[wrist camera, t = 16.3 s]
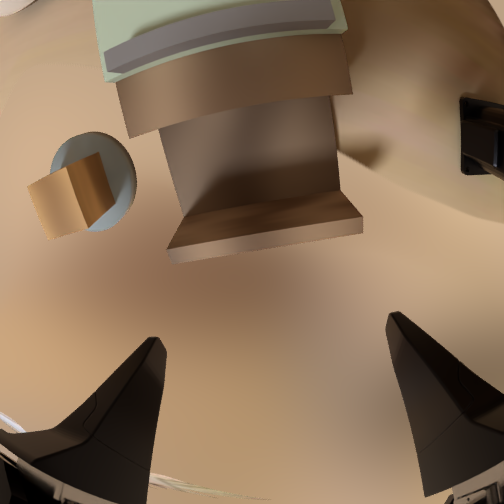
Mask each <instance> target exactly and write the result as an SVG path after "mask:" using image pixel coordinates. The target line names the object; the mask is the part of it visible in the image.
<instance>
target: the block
mask: <svg viewBox="0 0 504 504" xmlns="http://www.w3.org/2000/svg"><path fill="white" fill-rule="evenodd" d="M28 190H29V193H30V196H31V199H32V202H33V204H34V207H35V209H36V212H37V215H38V217H39V220H40V222H41V224H42V227H43V229H44V231H45V233H46V236H47V238H48V240H51V239H54V238H57V237H61V236H64V235H67V234H71V233H75V232H78V231H82V230H85V229H88V228H90V227H91V226H92V225H93V224H94V223H95V222H96V221H97V220H98V219H99V218H100V217H101V216H102V215H104V214H105V213H106V212H107V211H108V210H109V209H110V208H111V207H112V206H114V205H115V204H116V203H115V200H114V197H113V194H112V192H111V189H110V186H109V183H108V180H107V176H106V173H105V170H104V167H103V164H102V160H101V157H100V153H99V152H97V153H95V154H92V155H90V156H87V157H85V158H83V159H80V160H78V161H76V162H74V163H72V164H69V165H67V166H65V167H63V168H61V169H59V170H57V171H55V172H53V173H51V174H49V175H47V176H46V177H44V178H42V179H40V180H38V181H36V182H35V183H33V184H31V185H29V186H28Z"/></svg>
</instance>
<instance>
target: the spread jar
mask: <svg viewBox="0 0 504 504" xmlns="http://www.w3.org/2000/svg"><path fill="white" fill-rule="evenodd" d="M36 1H38V0H0V17H1V16H8V15H12V14H14V13H16V12H19V11H21V10H23V9H25V8H26V7H28V6H30V5H32V4H33V3H35V2H36Z"/></svg>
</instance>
